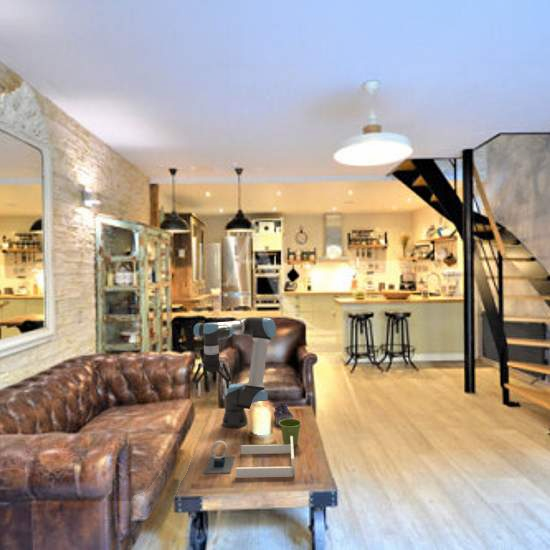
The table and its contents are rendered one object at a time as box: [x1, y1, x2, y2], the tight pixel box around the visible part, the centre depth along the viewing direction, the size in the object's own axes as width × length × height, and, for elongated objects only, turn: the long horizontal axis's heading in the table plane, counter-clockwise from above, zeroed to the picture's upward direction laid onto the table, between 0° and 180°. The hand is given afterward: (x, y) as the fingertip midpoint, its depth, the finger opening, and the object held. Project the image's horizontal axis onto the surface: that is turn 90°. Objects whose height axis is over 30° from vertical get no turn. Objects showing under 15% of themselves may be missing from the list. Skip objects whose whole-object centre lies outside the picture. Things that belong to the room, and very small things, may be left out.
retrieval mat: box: [203, 455, 235, 475], centre depth 190 cm, size 16×12×1 cm
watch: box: [210, 440, 228, 468], centre depth 189 cm, size 6×8×11 cm
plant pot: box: [279, 418, 302, 447], centre depth 211 cm, size 12×12×11 cm
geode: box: [273, 402, 294, 427], centre depth 245 cm, size 20×12×10 cm, turn 7°
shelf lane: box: [235, 436, 295, 479], centre depth 189 cm, size 24×26×8 cm
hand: (212, 395), depth 205 cm, fingers open, 13 cm apart
